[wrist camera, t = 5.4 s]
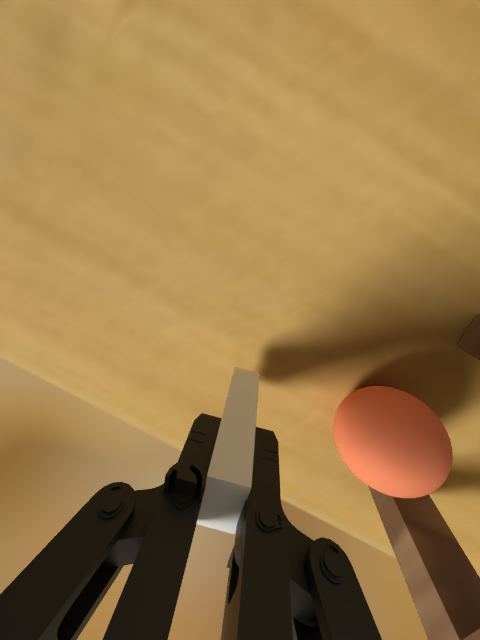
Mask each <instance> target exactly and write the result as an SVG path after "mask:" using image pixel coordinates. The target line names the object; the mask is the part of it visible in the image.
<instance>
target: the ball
mask: <svg viewBox="0 0 480 640" xmlns="http://www.w3.org/2000/svg"><path fill="white" fill-rule="evenodd" d="M333 430H334V438H335V443H336V446H337V448H338V451H339V453H340V455H341V457H342V459H343V460H344V462H345V464H346V465H347V466H348V468H349V469H350V470H351V471H352V472H353V473H354V474H355V475H356V476H357V477H358V478H359V479H360V480H361V481H363V482H364V483H365V484H367V485H368V486H370V487H371V488H373V489H375V490H377V491H379V492H381V493H384V494H386V495H389V496H393V497H398V498H417V497H422V496H425V495H428V494H430V493H432V492H434V491H435V490H437V489H438V488H439V487H440V486H441V485H442V484H443V483H444V482H445V480H446V479H447V477H448V475H449V473H450V470H451V466H452V458H453V456H452V446H451V442H450V439H449V436H448V433H447V431H446V429H445V427H444V425H443V424H442V422H441V421H440V419H439V418H438V417H437V416H436V414H435V413H434V412H433V411H432V410H431V409H430V408H429V407H428V406H427V405H426V404H424V403H423V402H422V401H420V400H419V399H418V398H416V397H414V396H413V395H411V394H409V393H407V392H405V391H402V390H399V389H396V388H391V387H386V386H370V387H365V388H361V389H359V390H356V391H354V392H352V393H351V394H350V395H348V396H347V397H346V398H345V399H344V400H343V401H342V402H341V404H340V405H339V407H338V409H337V411H336V414H335V418H334V426H333Z"/></svg>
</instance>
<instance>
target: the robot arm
mask: <svg viewBox="0 0 480 640" xmlns="http://www.w3.org/2000/svg"><path fill="white" fill-rule="evenodd" d="M258 387H259V373H257V372H253V371H249V370H245V369H241V368H237V367H235V369H234V373H233V377H232V380H231V384H230V388H229V392H228V396H227V400H226V404H225V408H224V412H223V415H222V418H218V417H214V416H210V415H207V414H203V413H202V414H201V415H199V416H198V417H197V418H196V419H195V420H194V423H193V425H192V428H191V430H190V433H189V435H188V438H187V440H186V443H185V445H184V448H183V450H182V453H181V455H180V458H179V460H178V463H176V464H175V465H173V466H172V467H171V468H170V469H169V471H168V472H167V474H166V476H165V483H164V484H162V485H161V486H159V487H156V488H152V489H146V490H136V491H134V489H133V488H132V487H131V486H130V485H129V484H126V483H123V482H116V483H111V484H109V485H107V486H104V487H103V488H102V489H101V490H99V491H98V492H97V493H96V494H95V495H94V496H93V497H92V498H91V499H90V500H89V501H88V502H87V503H86V504H85V505H84V506H83V507H82V508H81V510H80V511H79V512H78V513H77V514H76V515H75V516H74V517H73V518H72V519H71V520H70V521H69V522H68V523H67V524H66V525H65V526H64V528H63V529H62V530H61V531H60V532H59V533H58V534H57V535H56V536H55V537H54V538H53V539H52V540H51V541H50V542H49V543H48V545H47V546H46V547H45V548H44V549H43V550H42V551H41V552H40V553H39V554H38V555H37V556H36V557H35V558H34V559H33V560H32V561H31V563H30V564H29V565H28V566H27V567H26V568H25V569H24V570H23V571H22V572H21V573H20V574H19V575H18V576H17V577H16V578H15V580H14V581H13V582H12V583H11V584H10V585H9V586H8V587H7V588H6V589H5V590H4V591H3V592H2V593H1V594H0V640H77V638H78V636H79V635H80V633H81V632H82V630H83V629H84V627H85V626H86V624H87V622H88V621H89V619H90V618H91V616H92V615H93V613H94V611H95V610H96V608H97V607H98V605H99V604H100V602H101V601H102V599H103V597H104V596H105V594H106V593H107V591H108V590H109V588H110V586H111V585H112V583H113V582H114V580H115V579H116V577H117V576H118V574H119V572H120V571H121V569H122V567H123V566H124V565H129V564H133V567H132V570H131V572H130V574H129V577H128V579H127V581H126V584H125V586H124V589H123V591H122V594H121V596H120V598H119V601H118V603H117V606H116V609H115V611H114V613H113V616H112V618H111V621H110V623H109V625H108V628H107V630H106V633H105V635H104V638H103V640H167V639H168V635H169V631H170V627H171V623H172V619H173V615H174V611H175V607H176V603H177V599H178V595H179V591H180V587H181V583H182V579H183V575H184V571H185V567H186V563H187V559H188V555H189V551H190V547H191V543H192V539H193V535H194V531H195V527H196V524H199V525H202V526H206V527H209V528H213V529H217V530H220V531H224V532H228V533H231V534H235V531H236V537H235V545H234V547H233V550H232V553H231V555H230V558H229V561H228V565H227V567H228V568H230V569H229V577H228V585H227V594H226V602H225V610H224V618H223V627H222V635H221V640H382V639H381V636H380V634H379V631H378V629H377V626H376V624H375V621H374V619H373V616H372V614H371V612H370V609H369V607H368V604H367V602H366V599H365V597H364V594H363V592H362V589H361V587H360V584H359V582H358V579H357V577H356V574H355V572H354V570H353V567H352V565H351V563H350V561H349V559H348V557H347V555H346V554H345V552H344V551H343V550H342V549H341V548H340V547H339V545H338V544H336V543H335V542H333V541H332V540H330V539H326V538H319V539H316V540H315V541H313V540H312V539H310V538H309V537H307V536H306V535H304V534H303V533H301V532H300V531H299V530H297V529H296V528H295V527H294V526H293V525H292V524H291V523H290V522H289V521H288V519H287V517H286V516H285V514H284V512H283V509H282V506H281V500H280V477H279V455H278V441H277V438H276V436H275V434H274V432H273V431H269V430H266V429H262V428H258V427H256V415H257V401H258Z"/></svg>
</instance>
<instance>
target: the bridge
mask: <svg viewBox="0 0 480 640" xmlns="http://www.w3.org/2000/svg"><path fill="white" fill-rule="evenodd" d="M457 346H458V347H459V348H461V349H463V350H464V351H466V352H468V353H469V354H471V355H473V356H474V357H476V358H478V359H479V360H480V315H476V317H475V319H474V320H473V322H472V323H471V325H470V326H469V328H468V329H467V331H466V332H465V334H464V335H463V337H462V338H461V340H460V341H459V343H458V344H457ZM368 487H369V489H370V492H371V494H372V497H373V499H374V502H375V504H376V507H377V510H378V512H379V515H380V517H381V520H382V522H383V525H384V527H385V530H386V533H387V535H388V538H389V540H390V543H391V545H392V548H393V550H394V553H395V556H396V558H397V561H398V563H399V565H400V568H401V571H402V573H403V576H404V578H405V581H406V584H407V586H408V589H409V591H410V594H411V596H412V599H413V601H414V604H415V606H416V609H417V612H418V614H419V617H420V619H421V622H422V625H423V627H424V630H425V632H426V635H427V637H428V640H480V578H479V576H478V574H477V573H476V571H475V569H474V568H473V566H472V564H471V563H470V561H469V560H468V558H467V556H466V555H465V553H464V551H463V550H462V548H461V546H460V545H459V543H458V542H457V540H456V538H455V537H454V535H453V533H452V532H451V530H450V528H449V527H448V525H447V524H446V522H445V520H444V519H443V517H442V515H441V514H440V512H439V510H438V509H437V507H436V506H435V504H434V502H433V501H432V499H431V497H430V496H429V494H428V495H425V496H422V497H417V498H398V497H393V496H389V495H386V494H384V493H381V492H379V491H377V490H375V489H373V488H371V487H370V486H368Z"/></svg>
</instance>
